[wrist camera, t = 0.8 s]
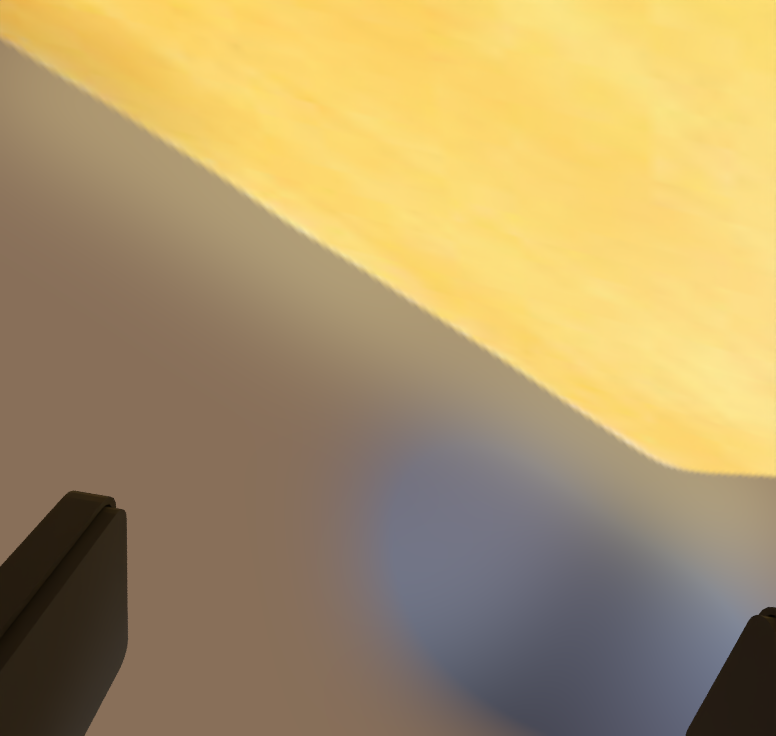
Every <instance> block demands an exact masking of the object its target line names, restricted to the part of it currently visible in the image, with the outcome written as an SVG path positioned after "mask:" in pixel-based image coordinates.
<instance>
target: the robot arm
mask: <svg viewBox="0 0 776 736" xmlns="http://www.w3.org/2000/svg"><path fill="white" fill-rule="evenodd" d="M126 519H127V518H126V512H125V510H122V509H118V508H116V503H115V500H114V498H112V497H109V496H103V495H97V494H91V493H85V492H79V491H70V492H68V493H67V494H66V495H65V496H64V497H63V498H62V499H61V500H60V501H59V502H58V503H57V505H56V506H55V507H54V508H53V509H52V510H51V511H50V512H49V513H48V514H47V515H46V517H45V518H44V519H43V520H42V521H41V522H40V523H39V524H38V526H37V527H36V528H35V529H34V530H33V531H32V532H31V533H30V535H28V537H27V538H26V539H25V540H24V541H23V542H22V544H20V546H19V547H18V548H17V549H16V550H15V551H14V552H13V553H12V554H11V555H10V556H9V558H8V559H7V560H6V561H5V562H4V563H3V564H2V566H0V736H84V735H85V733H86V731H87V730H88V728H89V726H90V724H91V722H92V720H93V718H94V716H95V715H96V713H97V711H98V709H99V707H100V705H101V703H102V701H103V699H104V697H105V696H106V694H107V692H108V690H109V688H110V686H111V684H112V682H113V681H114V679H115V677H116V675H117V673H118V671H119V669H120V667H121V665H122V662H123V659H124V657H125V653H126V649H127V642H128V620H127V619H128V613H127V523H126V522H127V520H126ZM686 736H776V608H775V607H767V608H765V609H763V610H762V611H761V612H760V614H759V615H755V616H753V617H751V619H750V620H749V621H748V623H747V625H746V627H745V628H744V630H743V632H742V634H741V635H740V637H739V639H738V641H737V643H736V644H735V646H734V648H733V650H732V651H731V653H730V655H729V657H728V658H727V660H726V662H725V664H724V666H723V667H722V669H721V671H720V673H719V675H718V676H717V678H716V680H715V682H714V683H713V685H712V687H711V689H710V690H709V692H708V694H707V696H706V698H705V699H704V701H703V703H702V705H701V707H700V708H699V710H698V712H697V714H696V716H695V717H694V719H693V721H692V723H691V724H690V726H689V728H688V730H687V732H686Z"/></svg>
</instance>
